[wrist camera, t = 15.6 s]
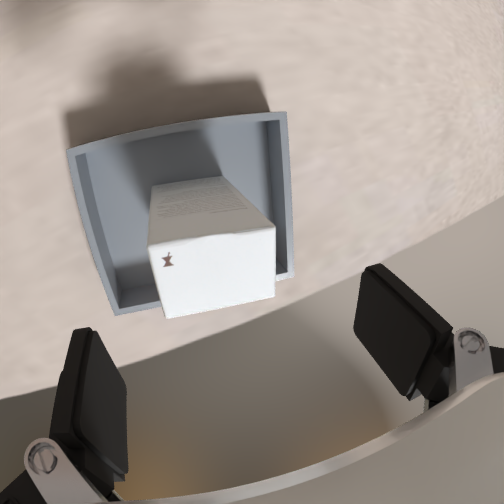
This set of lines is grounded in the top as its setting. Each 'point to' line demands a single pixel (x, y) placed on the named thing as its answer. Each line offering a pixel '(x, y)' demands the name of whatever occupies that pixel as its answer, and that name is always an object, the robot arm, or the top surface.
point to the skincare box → (208, 247)
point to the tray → (168, 171)
